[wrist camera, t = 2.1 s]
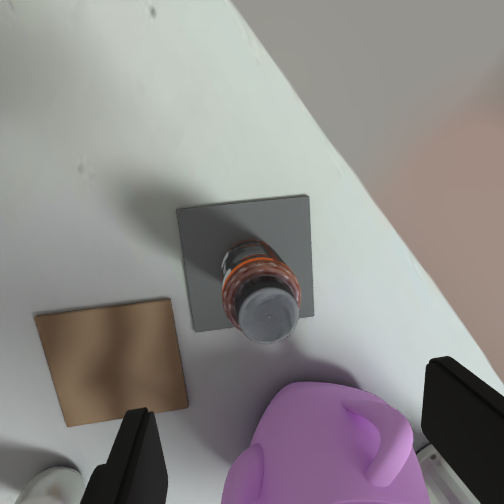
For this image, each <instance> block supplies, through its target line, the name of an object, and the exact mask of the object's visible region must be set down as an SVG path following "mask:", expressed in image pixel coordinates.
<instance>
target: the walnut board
mask: <svg viewBox="0 0 504 504" xmlns="http://www.w3.org/2000/svg"><path fill="white" fill-rule="evenodd" d="M34 319H35V322H36V326H37V329H38V332H39V336H40V339H41V342H42V346H43V349H44V352H45V355H46V359H47V362H48V365H49V369H50V372H51V375H52V379H53V382H54V385H55V389H56V392H57V395H58V399H59V402H60V405H61V409H62V412H63V415H64V419H65V422H66V425H67V427H72V426H78V425H84V424H91V423H97V422H103V421H109V420H116V419H122V418H124V416H125V413H126V411H128V410H132V409H138V408H144V407H147V409H148V412H150V411H153V412H154V413H160V412H166V411H172V410H178V409H185V408H188V406H189V404H188V398H187V392H186V386H185V380H184V374H183V369H182V363H181V357H180V351H179V345H178V340H177V334H176V328H175V322H174V316H173V310H172V305H171V299H165V300H157V301H149V302H141V303H133V304H125V305H117V306H109V307H101V308H93V309H85V310H77V311H70V312H62V313H54V314H46V315H38V316H36V317H35V318H34Z"/></svg>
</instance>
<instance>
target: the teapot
mask: <svg viewBox="0 0 504 504" xmlns="http://www.w3.org/2000/svg"><path fill="white" fill-rule="evenodd" d="M412 444H413V432H412V428H411V426H410V424H409V422H408V420H407V419H406V418H405V417H404V416H403V415H402V414H401V413H400V412H399V411H397V410H396V409H394V408H393V407H391V406H389V405H388V404H387V403H386V402H385V401H383V400H382V399H381V398H379V397H377V396H375V395H373V394H371V393H368V392H366V391H363V390H360V389H356V388H353V387H349V386H344V385H339V384H333V383H324V382H310V381H307V382H295V383H291V384H289V385H286V386H285V387H284V388H282V389H281V390H280V391H279V392H278V393H277V394H276V395H275V397H274V398H273V399H272V401H271V402H270V404H269V405H268V407H267V409H266V410H265V412H264V414H263V416H262V418H261V420H260V422H259V424H258V426H257V428H256V430H255V433H254V435H253V438H252V441H251V444H250V447H249V448H248V449H246V450H244V451H243V452H242V453H241V454H240V455H239V456H238V457H237V458H236V459H235V461H234V463H233V464H232V466H231V468H230V470H229V472H228V475H227V478H226V481H225V484H224V489H223V494H222V500H221V504H431V503H430V499H429V495H428V492H427V488H426V485H425V481H424V478H423V475H422V471H421V468H420V465H419V462H418V459H417V456H416V453H415V451H414V449H413V446H412Z"/></svg>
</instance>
